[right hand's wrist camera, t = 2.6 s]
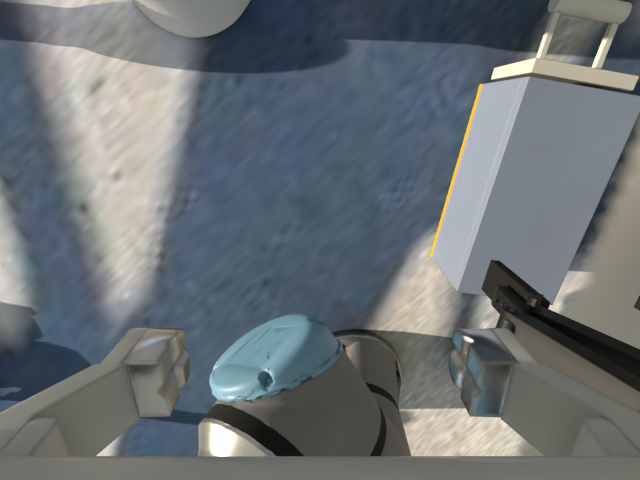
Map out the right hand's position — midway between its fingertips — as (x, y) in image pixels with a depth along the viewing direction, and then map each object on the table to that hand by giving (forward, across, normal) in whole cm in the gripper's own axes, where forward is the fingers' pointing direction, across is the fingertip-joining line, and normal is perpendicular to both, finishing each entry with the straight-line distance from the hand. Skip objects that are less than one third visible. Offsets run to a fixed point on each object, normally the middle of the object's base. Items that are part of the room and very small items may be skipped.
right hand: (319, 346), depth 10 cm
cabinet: (+34, -22, +2) cm, 41 cm away
